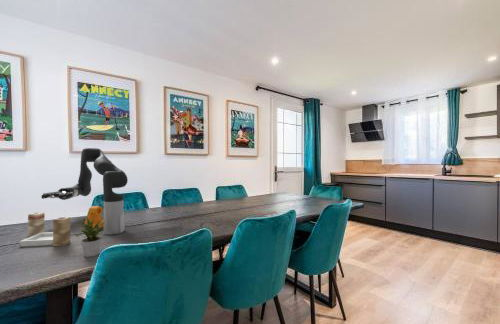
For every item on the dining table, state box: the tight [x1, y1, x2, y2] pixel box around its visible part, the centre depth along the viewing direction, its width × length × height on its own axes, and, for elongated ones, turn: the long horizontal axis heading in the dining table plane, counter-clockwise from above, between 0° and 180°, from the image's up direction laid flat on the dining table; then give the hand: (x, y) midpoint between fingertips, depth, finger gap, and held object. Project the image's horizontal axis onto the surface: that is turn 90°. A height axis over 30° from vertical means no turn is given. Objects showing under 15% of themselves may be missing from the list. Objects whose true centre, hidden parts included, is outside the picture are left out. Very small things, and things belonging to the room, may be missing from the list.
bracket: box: [83, 205, 104, 229], centre depth 137 cm, size 11×7×12 cm, turn 171°
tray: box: [19, 231, 53, 248], centre depth 111 cm, size 13×13×2 cm
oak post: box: [52, 216, 71, 247], centre depth 107 cm, size 4×4×12 cm
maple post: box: [27, 212, 45, 237], centre depth 121 cm, size 5×5×11 cm
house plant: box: [70, 216, 109, 258], centre depth 95 cm, size 14×14×16 cm
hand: (50, 196), depth 132 cm, fingers open, 8 cm apart
